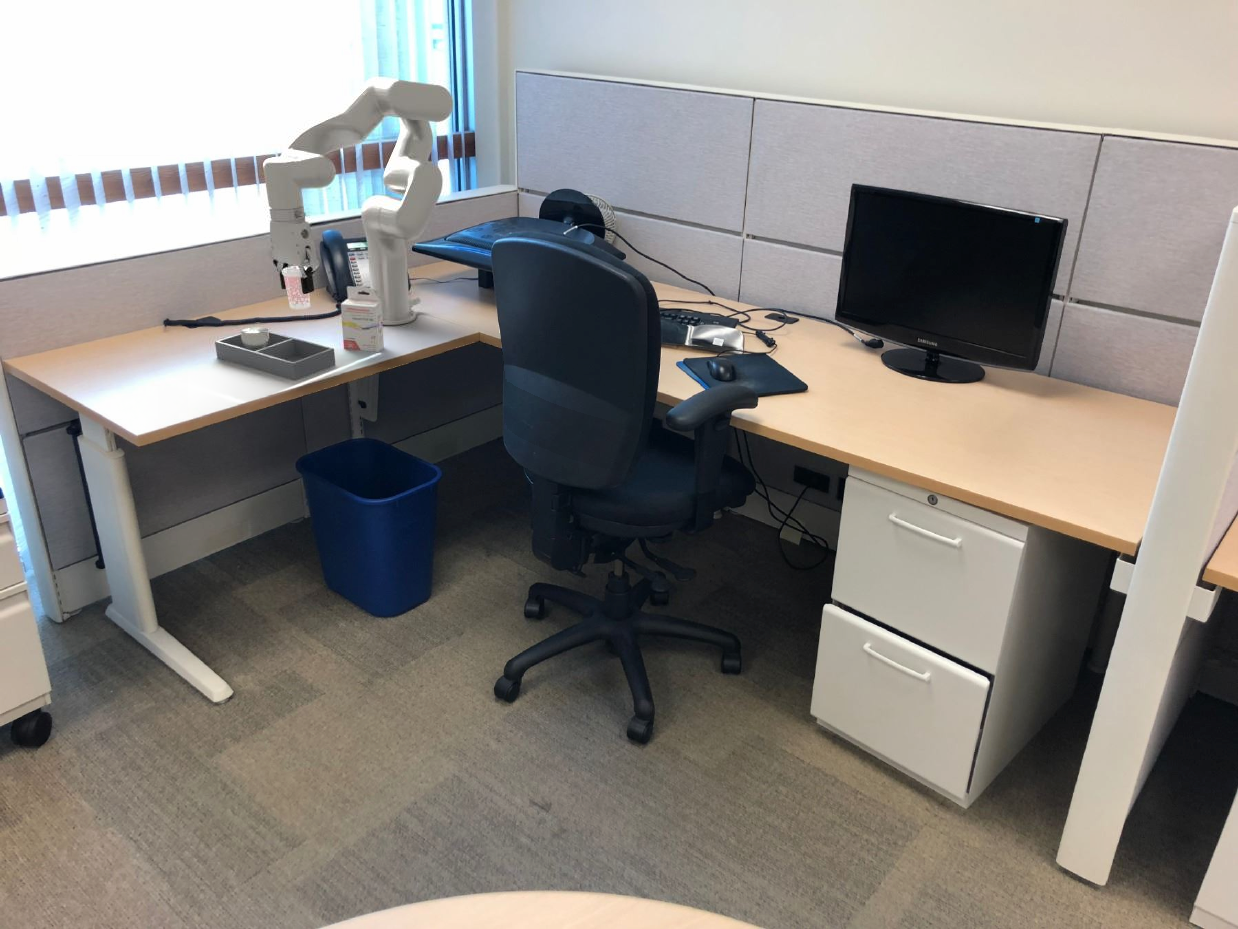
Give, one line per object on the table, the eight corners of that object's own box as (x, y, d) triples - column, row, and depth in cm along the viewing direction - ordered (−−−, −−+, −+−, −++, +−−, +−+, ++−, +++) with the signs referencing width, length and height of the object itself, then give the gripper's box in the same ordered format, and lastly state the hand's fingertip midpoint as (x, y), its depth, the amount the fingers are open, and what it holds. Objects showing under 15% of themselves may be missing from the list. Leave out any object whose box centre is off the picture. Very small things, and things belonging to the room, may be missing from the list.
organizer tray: (259, 346, 238) (256, 327, 236) (335, 367, 228) (334, 348, 226) (217, 360, 229) (214, 341, 227) (295, 383, 218) (293, 363, 216)
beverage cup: (319, 305, 239) (311, 247, 232) (299, 312, 234) (291, 253, 228) (300, 300, 241) (292, 243, 235) (281, 307, 237) (272, 249, 230)
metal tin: (258, 349, 234) (255, 325, 231) (276, 355, 231) (274, 330, 229) (238, 356, 229) (234, 331, 227) (256, 362, 227) (253, 336, 224)
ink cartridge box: (343, 351, 237) (338, 291, 231) (350, 344, 242) (345, 285, 235) (378, 354, 237) (374, 293, 230) (384, 347, 241) (381, 287, 235)
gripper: (327, 215, 227) (336, 292, 235) (272, 205, 234) (283, 280, 243) (302, 222, 221) (313, 300, 229) (247, 212, 228) (259, 288, 237)
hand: (297, 289), depth 236 cm, fingers closed on beverage cup, 6 cm apart
